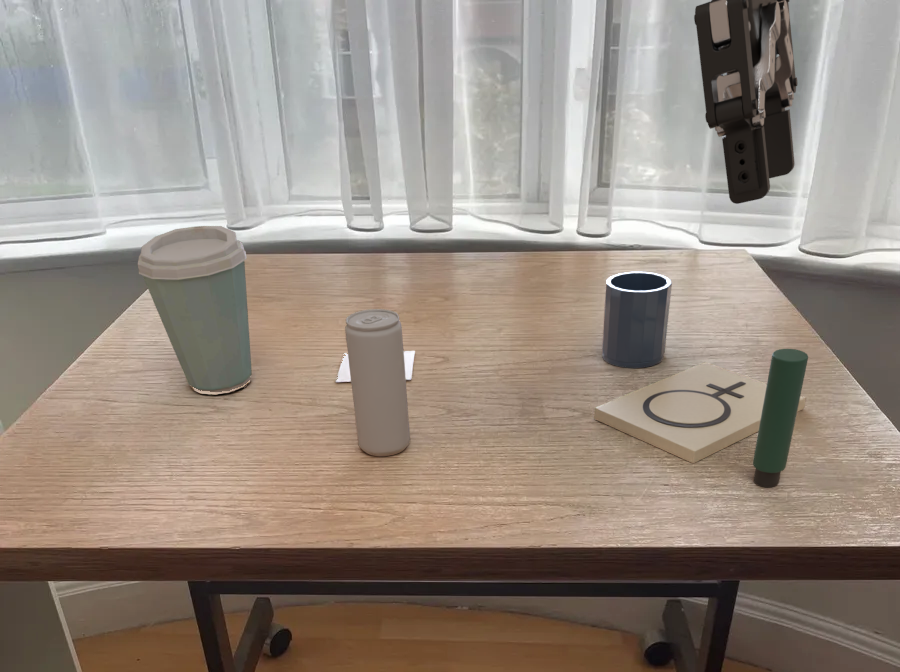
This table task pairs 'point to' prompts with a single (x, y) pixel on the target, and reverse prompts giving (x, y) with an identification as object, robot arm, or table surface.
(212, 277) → the disposable coffee cup
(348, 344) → the beverage can
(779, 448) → the marker
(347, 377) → the white piece
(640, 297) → the pen cup
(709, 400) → the drawing board
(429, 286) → the table surface
